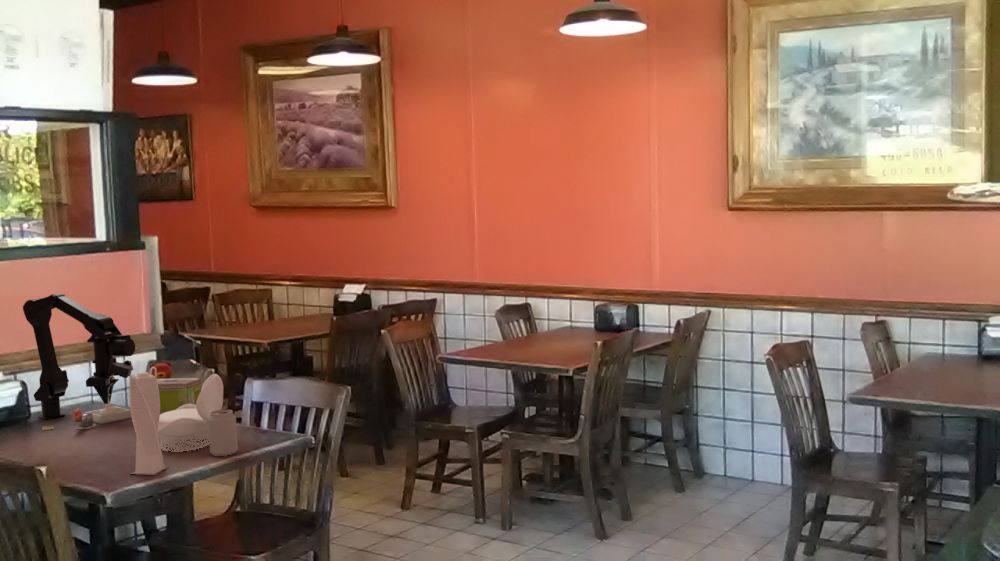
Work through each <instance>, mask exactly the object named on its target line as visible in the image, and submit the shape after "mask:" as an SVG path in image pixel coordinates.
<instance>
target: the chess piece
mask: <svg viewBox="0 0 1000 561" xmlns="http://www.w3.org/2000/svg"><path fill="white" fill-rule="evenodd" d="M109 389H110V387H109ZM109 396H110V394H109ZM110 402H111V401H110ZM110 402H109V398H108V403H107V404H104V407H103V408H101V409H102V410H100V413H102V414H107V413H113V412H116V409H115V408H111V407H112V406H111V403H110Z"/></svg>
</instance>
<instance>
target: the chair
mask: <svg viewBox="0 0 1000 561" xmlns="http://www.w3.org/2000/svg"><path fill="white" fill-rule="evenodd" d="M223 401H224V383H223V380H222V378H221V376H219V374H217V373H212V374H211V375H209V377H207V378H206V379H205V380H204V382H203V383H202V389H201V393H200V394H199V396H198V399H197V402H196V405H194V404H185V405H182V406H181V407H179V408H177V409H176V410H172V411H168V412H165V413H162V414H160V418H159V425H158V431H157V433H158V437H159V441H160V446H162V447H161V449H162V448H163V449H162V450H161V451H165V452H168V450H169V451H171V450H172V448H173V449H174V451H173V450H172V451H171V453H184V452H183V451H187V452H192V451H191V450H193V451H197V450H196V449H198V450H200V449H199V448H201V449H203V447H204V448H206V447H208V446H210V445H209V442H208V441H209V440H208V439H209V429H208V418H209V417H210V413H211V412H213V411H217V410H223V403H224V402H223ZM202 402H203V403H202ZM184 407H185V409H184ZM187 407H188V408H190V407H191V409H186V408H187ZM202 407H203V408H202ZM182 408H183V409H182ZM193 437H195V438H197V439H196V440H192V439H193ZM184 438H187V439H188V438H190V441H192V442H193V441H194V442H195V443H196V444H195V443H192V442H191V443H190V445H191V444H193V445H194V444H195V448H193V445H192V446H191V450H190V451H189V450H188V449H190V445H189V446H187V445H188V444H189V442H190V441H188V442H185V441H186V440H187V439H186V440H185V441H184ZM191 438H192V439H191ZM195 438H194V439H195ZM198 438H199V440H198ZM200 438H201V439H200ZM202 438H203V439H204V438H207V440H205V439H204V441H203V442H202V440H203V439H202ZM179 439H180V440H182V441H183V443H184V442H185V444H186V443H188V444H187V445H185V444H183V443H182V444H181V442H182V441H180V440H179ZM174 440H176V442H175V441H174ZM178 440H179V441H180V444H181V445H180V446H181V450H180V446H179V447H178V445H179V443H178V445H177V446H176V445H175V443H177V441H178ZM200 440H201V441H200ZM172 441H173V443H174V442H175V443H174V444H173V443H171V442H172ZM196 441H199V442H201V444H202V445H199V442H198V445H199V446H200V447H199V446H198V445H197V442H196ZM168 442H169V443H171V444H172V445H170V444H169V443H168ZM206 442H207V443H206ZM166 443H167V444H168V446H167V445H166ZM203 443H205V444H206V445H205V444H204V445H203ZM163 444H164V447H163ZM169 445H170V447H172V448H171V450H170V449H169V448H170V447H169ZM173 445H174V446H173ZM182 445H183V446H186V447H185V449H186V450H184V449H183V447H182ZM207 445H208V446H207ZM175 446H176V449H175ZM197 446H198V447H197ZM205 446H206V447H205ZM166 447H168V448H167V449H166ZM187 447H188V448H187ZM192 448H193V449H192ZM176 450H177V451H176ZM179 450H180V451H179Z"/></svg>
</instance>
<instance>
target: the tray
mask: <svg viewBox="0 0 1000 561" xmlns="http://www.w3.org/2000/svg"><path fill="white" fill-rule="evenodd" d="M111 408H115V409H116V412H113V413H107V414H102V413H100V410H102V409H103V408H99V409H96V410H91V411H85V412H84V413H92V414H93V423H95V424H99V425H102V424H108V423H113V422H114V423H115V422H117V421H118V422H119V421H123V420H127V419H132V416H131V410H130V409H129V408H124V407H120V406H116V405H115V406H111Z"/></svg>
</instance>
